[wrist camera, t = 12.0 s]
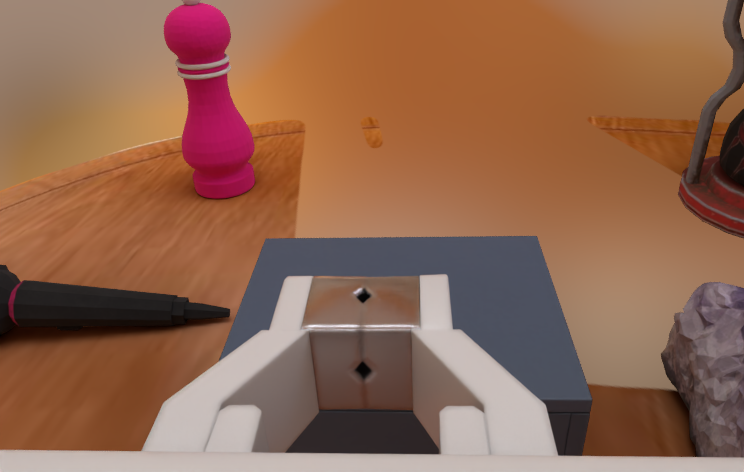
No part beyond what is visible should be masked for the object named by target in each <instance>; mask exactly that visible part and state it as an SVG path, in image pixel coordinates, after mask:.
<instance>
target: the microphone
mask: <svg viewBox="0 0 744 472" xmlns="http://www.w3.org/2000/svg"><path fill="white" fill-rule="evenodd" d="M229 316H230V309H228V308H222V307H217V306H212V305H206V304H200V303H191V302H189V300H188V298H185V297H177V295H167V294H157V293H147V292H137V291H128V290H118V289H108V288H98V287H88V286H78V285H69V284H59V283H49V282H39V281H26V280H24V281H22V282H20V281H19V279H18V278H17V276H16V275H15V274H13V273H11V272H9V270H8V268H7V267H6V265H0V336H1V334H2V333H5V332H7V331H10V330H11V329H12V328H13V327H14V326H15V325H16V324H17V325H18V326H19V327H57V329H59V330H79V329H81V328H82V327H83V326H170V325H175V324H185V323H186V322H187V320H202V319H212V318H223V317H229Z"/></svg>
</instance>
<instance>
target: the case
mask: <svg viewBox="0 0 744 472" xmlns="http://www.w3.org/2000/svg"><path fill="white" fill-rule="evenodd" d="M548 416H549V421H550V425H551V429H552V433H553V437H554V441H555V445H556V449H557V453H558V456H582V452H583V447H584V442H585V437H586V431H587V426H588V421H589V416H590V413H589V412H548ZM285 453H345V454H439V448H438V447H437V445H436V444H435V443H434V441H433V440H432V438H431V437H430V436H429V434H428V433H427V431H426V430H425V428H424V427H423V426H422V424H421V423H420V421H419V420H418V418H417V417H416V416H415V414H414V413H413V411H377V410H319V413H318V414H317V415H316V417H315V418H314V419H313V420H312V421H311V423H310V424H309V425H308V426H307V427H306V428H305V430H304V431H303V432H302V433H301V434H300V435H299V437H298V438H297V439H296V440H295V441H294V443H293V444H292V445H291V446H290V447H289V448H288V450H287V451H286V452H285Z"/></svg>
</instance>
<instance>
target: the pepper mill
mask: <svg viewBox="0 0 744 472" xmlns="http://www.w3.org/2000/svg"><path fill="white" fill-rule="evenodd" d="M182 1H183V2H184V3H185V4H184V5H181V6H179V7H177V8H175V9H174V10H173V11H171V12H170V13H169V15H168V16H167V18H166V21H165V24H164V36H165V41H166V44H167V46H168V48H169V49H170V50H171V51H172V52H174V53H175V54H176V55H177V56H178V58H179V59H177V61H176V66H177V67H178V75H179V76H180V77H182V78H184V82H185V85H186V88H187V94H188V101H189V104H188V115H187V120H186V124H185V127H184V131H183V136H182V152H183V157H184V159H185V161H186V162H187V163H188V164H189V165H190V166H191V167H192V168H194V169H195V171H194V173H193V181H194V185H195V190H196V192H197V193H198V194H200V195H201V196H203V197H206V198H213V199H221V198H230V197H234V196H237V195H240V194H243V193H245V192H247V191H248V190H250V189H251V188H252V187H253V185H254V183H255V177H254V171H253V166H252V165H251V164H250V163H248V161H249V159H250V158H251V156H252V155H253V152H254V142H253V138H252V134H251V132H250V130H249V128H248V126H247V124H246V122H245V121H244V119H243V118H242V116H241V115H240V114H239V112H238V110H237V109H236V107H235V105H234V104H233V101H232V99H231V96H230V92H229V88H228V83H227V73H228V72H229V71H230V69H231V66H230V65H229V62H228V61H229V56H228V55H227V54H225V53H224V52H225V49H226V47H227V46H228V44H229V42H230V38H231V33H230V27H229V24H228V22H227V19H226V18H225V16H224V15H223V14H222V13H221V11H220V10H218V9H216V8H215V7H213V6H211V5H208V4H204V3H199V2H200V0H182Z"/></svg>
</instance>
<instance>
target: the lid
mask: <svg viewBox="0 0 744 472" xmlns="http://www.w3.org/2000/svg"><path fill="white" fill-rule="evenodd" d="M439 274H446V275H447V276H448V282H449V293H450V304H451V315H452V326H453V329H460V330H462V331H463V332H464V333H465V334H466V335H467V336H469V337H470V338H471V339H472V340H473V341H474V342H475V343H476V344H478V345H479V346H480V347H481V348H482V349H483V350H484V351H485V352H487V353H488V354H489V355H490V356H491V357H492V358H493V359H494V360H496V361H497V362H498V363H499V364H500V365H501V366H502V367H503V368H505V369H506V370H507V371H508V372H509V373H510V374H511V375H512V376H514V377H515V378H516V379H517V380H518V381H519V382H520V383H521V384H523V385H524V386H525V387H526V388H527V389H528V390H529V391H531V392H532V393H533V394H534V395H535V396H536V397H537V398H538V399H540V400H541V401H542V402H543V403H544V404H545V405H546V408H547V412H590V410H591V405H592V397H591V394H590V391H589V388H588V385H587V382H586V379H585V376H584V373H583V370H582V367H581V364H580V362H579V359H578V356H577V353H576V350H575V347H574V344H573V341H572V338H571V335H570V332H569V329H568V326H567V323H566V320H565V317H564V315H563V312H562V309H561V306H560V303H559V300H558V297H557V294H556V291H555V288H554V285H553V282H552V279H551V276H550V273H549V270H548V268H547V265H546V262H545V259H544V256H543V253H542V250H541V247H540V244H539V241H538V238H537V236H498V237H497V236H496V237H495V236H492V237H491V236H486V237H393V238H391V237H384V238H279V239H265V242H264V245H263V247H262V250H261V252H260V255H259V258H258V260H257V263H256V265H255V268H254V271H253V273H252V276H251V279H250V281H249V284H248V286H247V289H246V292H245V294H244V297H243V299H242V302H241V305H240V307H239V310H238V312H237V315H236V318H235V320H234V323H233V325H232V328H231V331H230V333H229V336H228V339H227V341H226V344H225V346H224V349H223V352H222V354H221V357H220V359H219V361H220V360H222V359H223V358H225V357H226V356H227V355H229V354H230V353H231V352H233V351H234V350H235V349H237V348H238V347H239V346H241V345H242V344H244V343H245V342H246V341H248V340H249V339H250V338H252V337H253V336H254V335H256V334H257V333H258V332H260V331H261V330H269V329H270V325H271V322H272V319H273V315H274V312H275V309H276V306H277V302H278V299H279V296H280V292H281V289H282V286H283V282H284V280H285V279H286V278H287V277H288V276H313V277H314V276H364V277H395V276H419V279H420V275H439ZM330 410H377V411H413V410H389V409H330Z"/></svg>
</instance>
